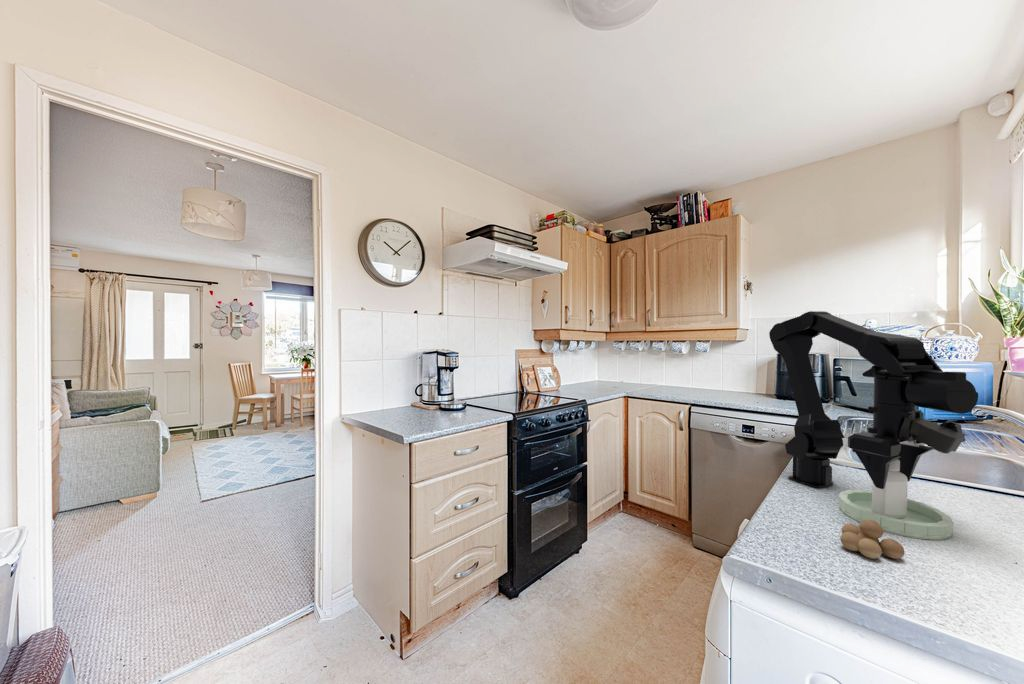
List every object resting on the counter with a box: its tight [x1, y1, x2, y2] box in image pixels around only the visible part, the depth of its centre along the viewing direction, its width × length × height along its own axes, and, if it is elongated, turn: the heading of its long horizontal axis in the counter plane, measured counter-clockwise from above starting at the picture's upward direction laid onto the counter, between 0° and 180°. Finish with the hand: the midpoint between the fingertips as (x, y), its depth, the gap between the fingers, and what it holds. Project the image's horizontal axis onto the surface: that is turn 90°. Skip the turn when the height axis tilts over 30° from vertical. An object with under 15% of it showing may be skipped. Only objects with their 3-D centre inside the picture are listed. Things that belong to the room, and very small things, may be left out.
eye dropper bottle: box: [871, 459, 909, 518], centre depth 71 cm, size 4×6×12 cm
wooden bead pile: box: [839, 520, 905, 560], centre depth 61 cm, size 8×6×5 cm
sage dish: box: [838, 489, 954, 541], centre depth 71 cm, size 15×15×2 cm
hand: (892, 484), depth 71 cm, fingers open, 9 cm apart
